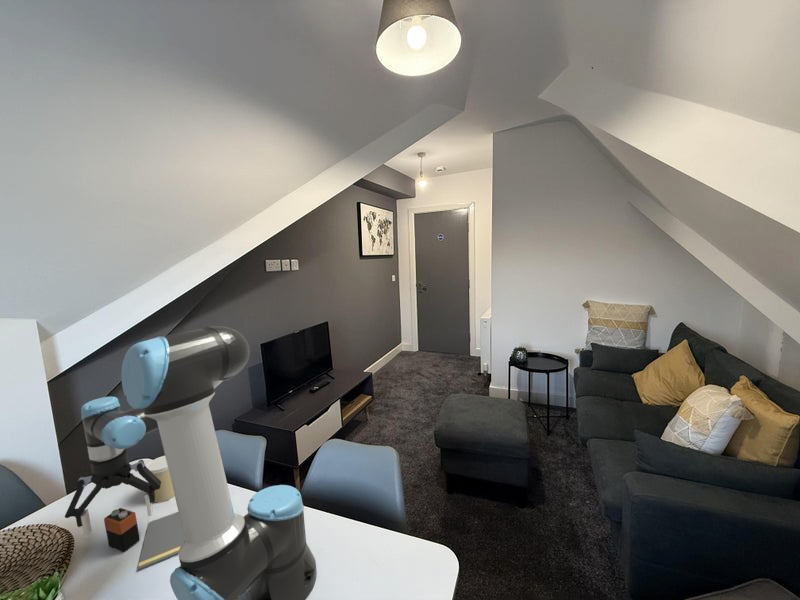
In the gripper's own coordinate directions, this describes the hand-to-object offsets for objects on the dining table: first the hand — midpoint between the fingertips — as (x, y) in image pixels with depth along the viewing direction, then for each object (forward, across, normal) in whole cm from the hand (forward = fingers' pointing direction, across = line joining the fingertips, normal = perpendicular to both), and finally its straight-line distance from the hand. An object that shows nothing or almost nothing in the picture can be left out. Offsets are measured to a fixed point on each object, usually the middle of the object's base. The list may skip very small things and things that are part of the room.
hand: (120, 523), depth 91 cm
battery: (+7, 0, 0) cm, 7 cm away
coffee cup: (+7, -8, -18) cm, 21 cm away
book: (+6, -12, +4) cm, 14 cm away
